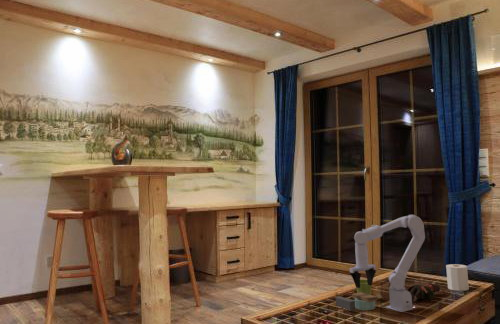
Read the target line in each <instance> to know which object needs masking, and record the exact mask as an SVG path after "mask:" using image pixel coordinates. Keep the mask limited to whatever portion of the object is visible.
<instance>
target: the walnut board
mask: <svg viewBox="0 0 500 324" xmlns="http://www.w3.org/2000/svg"><path fill="white" fill-rule="evenodd" d="M351 298H353V299H355V298H356V299H359V300H362V301H366V302H372V301H375V302H377V301H378V296H375V295H372V294H371V295H369V294H365V293H361V292H359V293H357V292H355V293H351Z"/></svg>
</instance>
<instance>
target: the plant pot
mask: <svg viewBox="0 0 500 324" xmlns="http://www.w3.org/2000/svg"><path fill="white" fill-rule="evenodd" d="M373 283H374V281H373V282H372V285H373ZM372 285H368V283H367V278H366V279H363V278H362V279H361V278H360V288H357V287H356V286H355V288H356V293H359V292H361V293H365V294H369V295H372Z"/></svg>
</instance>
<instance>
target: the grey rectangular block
mask: <svg viewBox="0 0 500 324" xmlns="http://www.w3.org/2000/svg"><path fill="white" fill-rule="evenodd" d="M336 305H337V306H339V307H342V308H345V309H347V310H349V311H352V312H355V311H356V308H355V299H351V298H347V297H343V296H337V297H335V306H336ZM349 311H348V312H349Z"/></svg>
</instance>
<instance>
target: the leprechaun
mask: <svg viewBox="0 0 500 324" xmlns="http://www.w3.org/2000/svg"><path fill="white" fill-rule="evenodd" d="M407 291H409V292H410V293H411V296H412V303H414V302H416V301H420V300H422V299H428V300H429V301H433V300H434V299H435V298H434V297H435V293H439V292H440V291H441V287H440V285H439V284H438V283H431V282H429V283H427V284H422V283H420V284H419V283H418V284H415V285H412V286H410V287H408V289H407Z"/></svg>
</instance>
